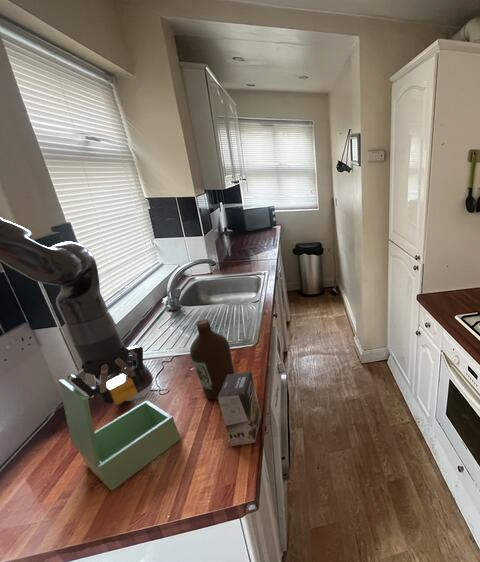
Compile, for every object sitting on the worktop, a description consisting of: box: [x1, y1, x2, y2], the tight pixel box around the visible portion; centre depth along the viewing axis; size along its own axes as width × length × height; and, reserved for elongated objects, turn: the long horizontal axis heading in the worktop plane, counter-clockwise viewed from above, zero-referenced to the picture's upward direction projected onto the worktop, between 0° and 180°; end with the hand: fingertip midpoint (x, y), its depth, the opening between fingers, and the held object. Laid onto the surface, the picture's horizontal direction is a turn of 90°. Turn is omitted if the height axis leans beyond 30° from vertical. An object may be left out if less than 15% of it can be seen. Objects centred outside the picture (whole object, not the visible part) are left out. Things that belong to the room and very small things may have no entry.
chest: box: [78, 400, 182, 492], centre depth 77 cm, size 16×13×8 cm
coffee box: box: [217, 370, 262, 447], centre depth 80 cm, size 9×6×16 cm
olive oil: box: [189, 318, 235, 401], centre depth 94 cm, size 11×11×25 cm
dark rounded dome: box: [109, 353, 154, 402], centre depth 95 cm, size 10×10×15 cm
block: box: [106, 373, 138, 406], centre depth 73 cm, size 4×4×4 cm
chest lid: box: [58, 378, 100, 467], centre depth 67 cm, size 16×13×1 cm
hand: (122, 395), depth 73 cm, fingers closed on block, 4 cm apart
